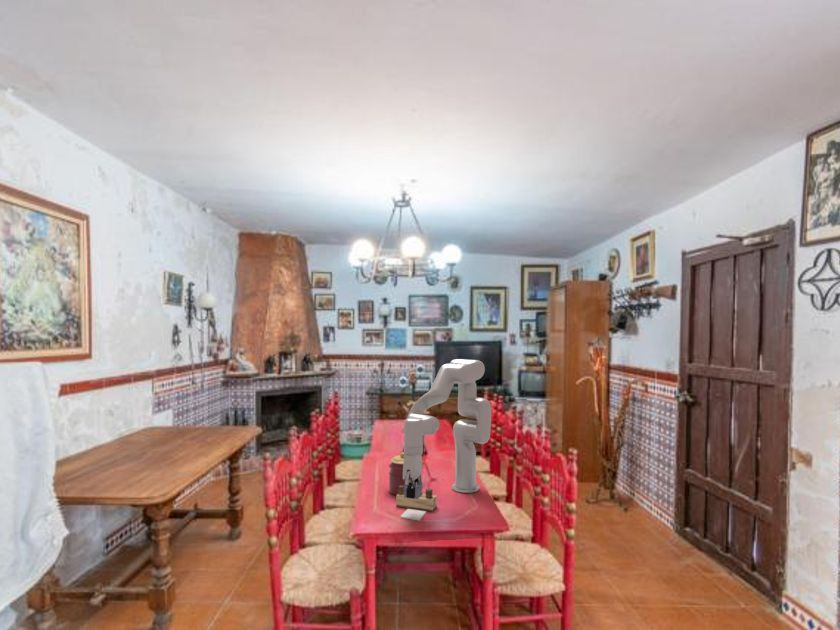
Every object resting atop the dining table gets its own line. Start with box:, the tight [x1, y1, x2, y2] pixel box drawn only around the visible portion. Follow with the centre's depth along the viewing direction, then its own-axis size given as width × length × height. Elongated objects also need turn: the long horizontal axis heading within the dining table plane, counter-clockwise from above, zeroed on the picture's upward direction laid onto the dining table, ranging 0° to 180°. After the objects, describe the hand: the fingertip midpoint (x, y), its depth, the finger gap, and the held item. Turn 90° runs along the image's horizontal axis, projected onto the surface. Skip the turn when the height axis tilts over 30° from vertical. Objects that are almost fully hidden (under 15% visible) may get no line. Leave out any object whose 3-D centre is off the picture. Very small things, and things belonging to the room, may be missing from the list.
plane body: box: [395, 485, 438, 512], centre depth 195 cm, size 6×16×8 cm, turn 70°
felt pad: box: [399, 508, 427, 522], centre depth 186 cm, size 8×8×1 cm
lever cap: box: [404, 481, 423, 499], centre depth 186 cm, size 5×6×6 cm
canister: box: [388, 451, 412, 496], centre depth 213 cm, size 13×13×18 cm
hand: (413, 495), depth 185 cm, fingers closed on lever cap, 5 cm apart
